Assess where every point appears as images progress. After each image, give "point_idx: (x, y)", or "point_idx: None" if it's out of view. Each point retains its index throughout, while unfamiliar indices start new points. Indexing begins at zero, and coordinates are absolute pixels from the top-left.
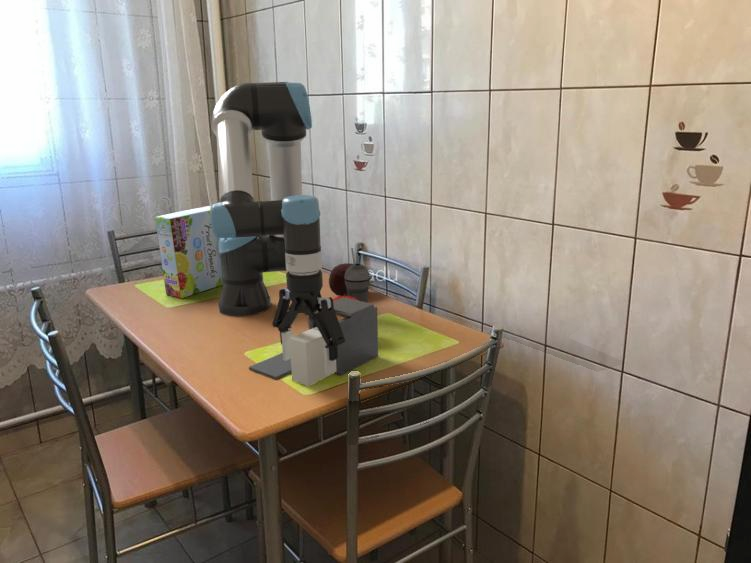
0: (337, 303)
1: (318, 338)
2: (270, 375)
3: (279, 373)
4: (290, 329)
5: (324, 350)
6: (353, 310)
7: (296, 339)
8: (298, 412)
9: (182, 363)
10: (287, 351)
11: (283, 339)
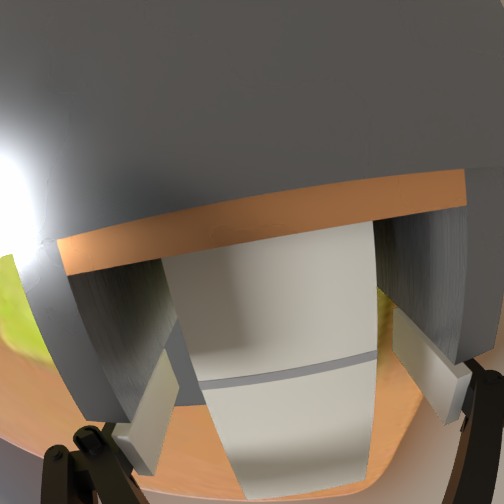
0: (37, 7)
1: (370, 423)
2: (187, 405)
3: (193, 386)
4: (113, 436)
5: (438, 411)
6: (483, 36)
7: (292, 492)
8: (402, 422)
9: (27, 439)
10: (167, 398)
11: (157, 453)
